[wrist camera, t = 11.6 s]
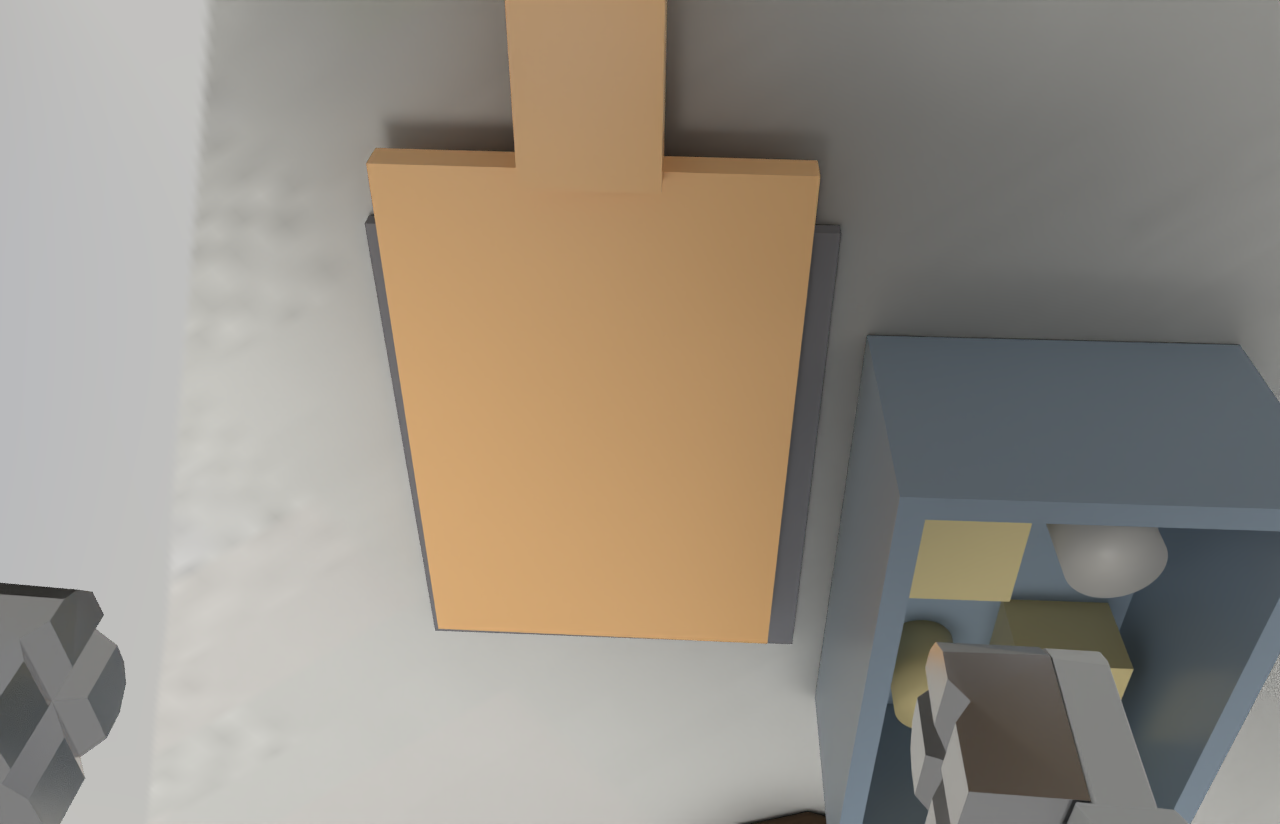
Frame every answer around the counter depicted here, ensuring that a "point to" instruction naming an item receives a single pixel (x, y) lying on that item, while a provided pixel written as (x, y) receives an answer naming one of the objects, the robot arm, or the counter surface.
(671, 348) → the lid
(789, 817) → the beer bottle
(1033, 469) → the tub
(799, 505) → the mat
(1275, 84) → the counter surface
